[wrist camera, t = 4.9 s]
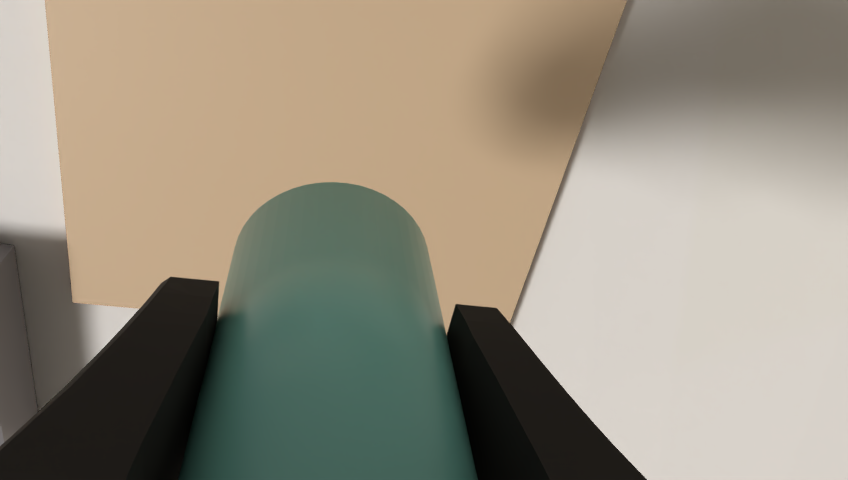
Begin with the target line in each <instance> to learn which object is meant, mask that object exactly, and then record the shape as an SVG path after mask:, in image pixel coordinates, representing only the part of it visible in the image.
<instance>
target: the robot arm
mask: <svg viewBox="0 0 848 480" xmlns="http://www.w3.org/2000/svg"><path fill="white" fill-rule="evenodd" d="M218 297H219V281H211V280H200V279H190V278H179V277H169V278H168V279H166V280H165V281H163V282H162V283H161V284H160V285H159V286H158V287H157V289H156V290H155V291H154V292H153V294H152V295H151V296H150V297H149V298H148V300H147V301H146V302H145V303H144V304H143V305H142V307H141V308H140V309H139V310H138V311H137V312H136V313H135V315H134V316H133V317H132V318H131V319H130V320H129V321H128V322H127V323H126V325H125V326H124V327H123V328H122V329H121V330H120V331H119V332H118V333H117V334H116V335H115V336H114V337H113V338H112V340H111V341H110V342H109V343H108V344H107V345H106V346H105V347H104V348H103V349H102V350H101V351H100V352H99V353H98V354H97V355H96V356H95V357H94V358H93V359H92V360H91V361H90V362H89V363H88V364H87V365H86V366H85V367H84V368H83V369H82V370H81V371H80V372H79V373H78V374H77V375H76V376H75V377H74V378H73V379H72V380H71V381H70V382H69V383H68V384H67V385H66V386H65V387H64V388H63V389H62V390H61V391H60V392H59V393H58V394H57V395H56V396H55V397H54V398H53V399H52V400H51V401H50V402H48V403H47V404H46V405H45V406H44V407H43V408H42V409H41V410H40V411H38V412H37V413H36V414H35V415H34V416H33V417H32V418H31V419H30V420H29V421H27V422H26V423H25V424H24V425H23V426H22V427H21V428H20V429H19V430H17V431H16V432H15V433H14V434H13V435H12V436H11V437H10V438H9V439H8V440H6V441H5V442H4V443H3V444H2V445H1V446H0V480H178V478H179V474H180V470H181V465H182V461H183V457H184V453H185V449H186V445H187V441H188V437H189V433H190V429H191V424H192V420H193V416H194V412H195V408H196V404H197V400H198V396H199V392H200V388H201V385H202V381H203V377H204V374H205V369H206V365H207V361H208V357H209V353H210V349H211V345H212V341H213V336H214V332H215V328H216V324H217V317H218ZM447 340H448V345H449V349H450V354H451V358H452V363H453V367H454V372H455V377H456V381H457V386H458V390H459V395H460V400H461V404H462V409H463V413H464V418H465V423H466V427H467V432H468V436H469V441H470V446H471V450H472V455H473V459H474V464H475V469H476V473H477V478H478V480H647V479H646V478H645V477H644V476H643V475H642V474H641V473H640V472H639V471H638V470H637V469H636V468H635V467H634V466H633V465H632V464H631V463H630V462H629V461H628V460H627V459H626V458H625V456H624V455H623V454H622V453H621V452H620V451H619V450H618V449H617V448H616V447H615V446H614V445H613V444H612V443H611V442H610V441H609V439H608V438H607V437H606V436H605V435H604V434H603V433H602V432H601V431H600V430H599V428H598V427H597V426H596V425H595V424H594V423H593V422H592V421H591V420H590V418H589V417H588V416H587V415H586V414H585V413H584V412H583V410H582V409H581V408H580V407H579V406H578V405H577V403H576V402H575V401H574V400H573V399H572V398H571V397H570V395H569V394H568V393H567V392H566V391H565V389H564V388H563V387H562V386H561V385H560V384H559V382H558V381H557V380H556V379H555V378H554V376H553V375H552V374H551V373H550V372H549V370H548V369H547V368H546V367H545V366H544V364H543V363H542V362H541V361H540V359H539V358H538V357H537V356H536V355H535V353H534V352H533V351H532V350H531V348H530V347H529V346H528V345H527V344H526V342H525V341H524V340H523V339H522V337H521V336H520V335H519V334H518V332H517V331H516V330H515V329H514V328H513V326H512V325H511V324H510V323H509V322H508V320H507V319H506V318H505V317H504V316H503V314H502V313H501V312H500V311H499V310H498V309H497V308H493V307H482V306H472V305H462V304H456V305H455V308H454V311H453V315H452V318H451V322H450V325H449V328H448V332H447Z"/></svg>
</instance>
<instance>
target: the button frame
mask: <svg viewBox="0 0 848 480" xmlns="http://www.w3.org/2000/svg"><path fill="white" fill-rule="evenodd" d="M37 412H38V409H37V402H36V395H35V388H34V381H33V374H32V367H31V360H30V353H29V346H28V339H27V332H26V325H25V318H24V311H23V304H22V297H21V290H20V283H19V276H18V269H17V262H16V255H15V248H14V245H6V244H0V446H1V445H2V444H3V443H4V442H5V441H6V440H8V439H9V438H10V437H11V436H12V435H13V434H14V433H15V432H16V431H17V430H19V429H20V428H21V427H22V426H23V425H24V424H25V423H26V422H27V421H29V420H30V419H31V418H32V417H33V416H34V415H35V414H36V413H37Z"/></svg>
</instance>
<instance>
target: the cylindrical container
mask: <svg viewBox="0 0 848 480" xmlns="http://www.w3.org/2000/svg"><path fill="white" fill-rule="evenodd" d="M178 480H478V478H477V473H476V469H475V464H474V459H473V455H472V450H471V446H470V441H469V436H468V432H467V427H466V423H465V418H464V413H463V409H462V404H461V400H460V395H459V390H458V386H457V381H456V377H455V372H454V367H453V363H452V358H451V354H450V349H449V345H448V340H447V335H446V331H445V326H444V322H443V317H442V312H441V308H440V303H439V299H438V294H437V289H436V285H435V280H434V276H433V271H432V266H431V262H430V257H429V253H428V248H427V245H426V241H425V238H424V236H423V234H422V232H421V229H420V227H419V226H418V225H417V223H416V222H415V220H414V219H413V217H412V216H411V215H410V214H409V213H408V212H407V211H406V210H405V209H404V208H403V207H401V206H400V205H399V204H398V203H397V202H395V201H394V200H392V199H390V198H389V197H387V196H386V195H384V194H381V193H379V192H377V191H375V190H373V189H369V188H366V187H363V186H360V185H354V184H349V183H339V182H323V183H314V184H308V185H303V186H300V187H296V188H293V189H290V190H288V191H285V192H283V193H281V194H279V195H277V196H275V197H274V198H272V199H270V200H269V201H267V202H266V203H265V204H263V205H262V206H261V207H259V208H258V209H257V210H256V211H255V212H254V213H253V214H252V216H251V217H250V218H249V219H248V221H247V222H246V223H245V225H244V226H243V228H242V230H241V232H240V234H239V236H238V239H237V242H236V245H235V248H234V252H233V256H232V260H231V265H230V269H229V273H228V277H227V281H226V285H225V289H224V293H223V297H222V301H221V306H220V310H219V314H218V318H217V324H216V328H215V332H214V336H213V341H212V345H211V349H210V353H209V357H208V361H207V365H206V369H205V374H204V377H203V381H202V385H201V388H200V392H199V396H198V400H197V404H196V408H195V412H194V416H193V420H192V424H191V429H190V433H189V437H188V441H187V445H186V449H185V453H184V457H183V461H182V465H181V470H180V474H179V478H178Z"/></svg>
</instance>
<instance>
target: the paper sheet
mask: <svg viewBox="0 0 848 480" xmlns="http://www.w3.org/2000/svg"><path fill="white" fill-rule="evenodd" d="M626 2H627V0H45V7H46V18H47V29H48V40H49V51H50V61H51V72H52V83H53V94H54V105H55V116H56V127H57V138H58V149H59V159H60V170H61V181H62V192H63V203H64V214H65V225H66V236H67V247H68V257H69V268H70V279H71V290H72V301H73V303H82V304H94V305H105V306H117V307H128V308H139V309H140V308H141V307H142V305H143V304H144V303H145V302H146V301H147V300H148V298H149V297H150V296H151V295H152V294H153V292H154V291H155V290H156V289H157V287H158V286H159V285H160V284H161V283H162V282H163V281H165V280H166V279H168V278H169V277H179V278H190V279H200V280H211V281H219V297H218V314H219V310H220V306H221V301H222V297H223V293H224V289H225V285H226V281H227V277H228V273H229V269H230V265H231V260H232V256H233V252H234V248H235V245H236V242H237V239H238V236H239V234H240V232H241V230H242V228H243V226H244V225H245V223H246V222H247V221H248V219H249V218H250V217H251V216H252V214H253V213H254V212H255V211H256V210H257V209H258V208H259V207H261V206H262V205H263V204H265V203H266V202H267V201H269V200H270V199H272V198H274V197H275V196H277V195H279V194H281V193H283V192H285V191H288V190H290V189H293V188H296V187H300V186H303V185H308V184H314V183H323V182H339V183H349V184H354V185H360V186H363V187H366V188H369V189H373V190H375V191H377V192H379V193H381V194H384V195H386V196H387V197H389V198H390V199H392V200H394V201H395V202H397V203H398V204H399V205H400V206H401V207H403V208H404V209H405V210H406V211H407V212H408V213H409V214H410V215H411V216H412V217H413V219H414V220H415V222H416V223H417V225H418V226H419V227H420V229H421V232H422V234H423V236H424V238H425V241H426V245H427V248H428V253H429V257H430V262H431V266H432V271H433V276H434V280H435V285H436V289H437V294H438V299H439V303H440V308H441V312H442V317H443V322H444V326H445V331H446V335H447V332H448V328H449V325H450V322H451V318H452V315H453V311H454V308H455V305H456V304H462V305H472V306H482V307H493V308H497V309H498V310H499V311H500V312H501V313H502V314H503V316H504V317H505V318H506V319H507V320H508V322H509V323H510V321H511V318H512V315H513V313H514V310H515V307H516V304H517V302H518V299H519V296H520V293H521V291H522V288H523V285H524V282H525V280H526V277H527V274H528V271H529V269H530V266H531V263H532V260H533V258H534V255H535V252H536V249H537V247H538V244H539V241H540V238H541V236H542V233H543V230H544V227H545V225H546V222H547V219H548V216H549V214H550V211H551V208H552V205H553V203H554V200H555V197H556V194H557V192H558V189H559V186H560V183H561V181H562V178H563V175H564V172H565V170H566V167H567V164H568V161H569V159H570V156H571V153H572V150H573V148H574V145H575V142H576V139H577V137H578V134H579V131H580V128H581V126H582V123H583V120H584V117H585V115H586V112H587V109H588V106H589V104H590V101H591V98H592V95H593V93H594V90H595V87H596V84H597V82H598V79H599V76H600V73H601V71H602V68H603V65H604V62H605V60H606V57H607V54H608V51H609V49H610V46H611V43H612V40H613V38H614V35H615V32H616V29H617V27H618V24H619V21H620V18H621V16H622V13H623V10H624V7H625V5H626Z"/></svg>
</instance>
